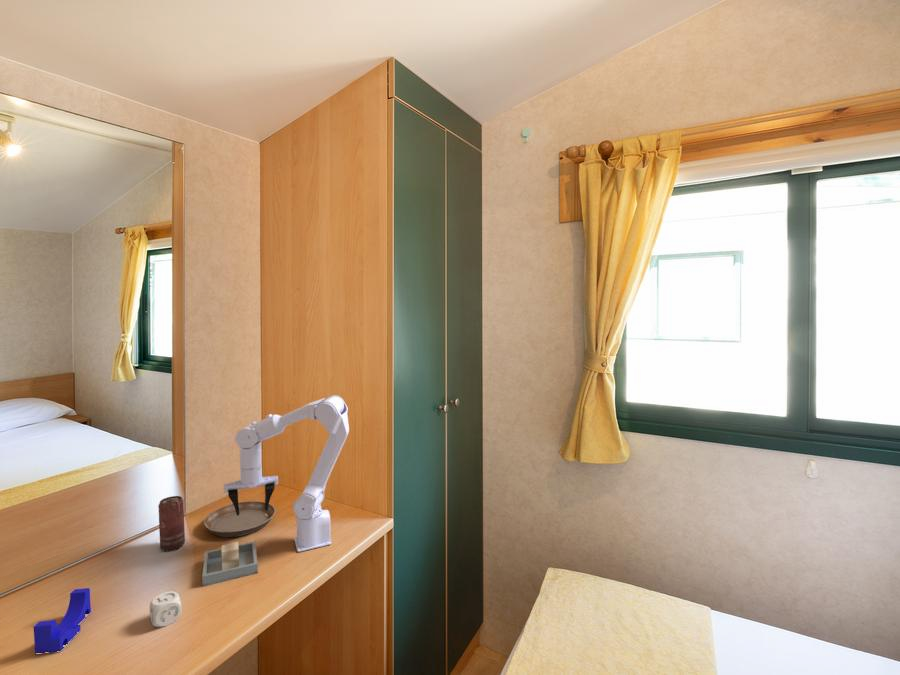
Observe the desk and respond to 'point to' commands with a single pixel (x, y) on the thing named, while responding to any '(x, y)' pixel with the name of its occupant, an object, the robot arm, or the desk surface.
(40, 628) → the blue curved piece
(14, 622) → the desk surface
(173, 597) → the die
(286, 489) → the desk surface
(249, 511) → the plant saucer
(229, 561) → the block
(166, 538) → the can
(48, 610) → the desk surface
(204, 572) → the tray
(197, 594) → the desk surface
